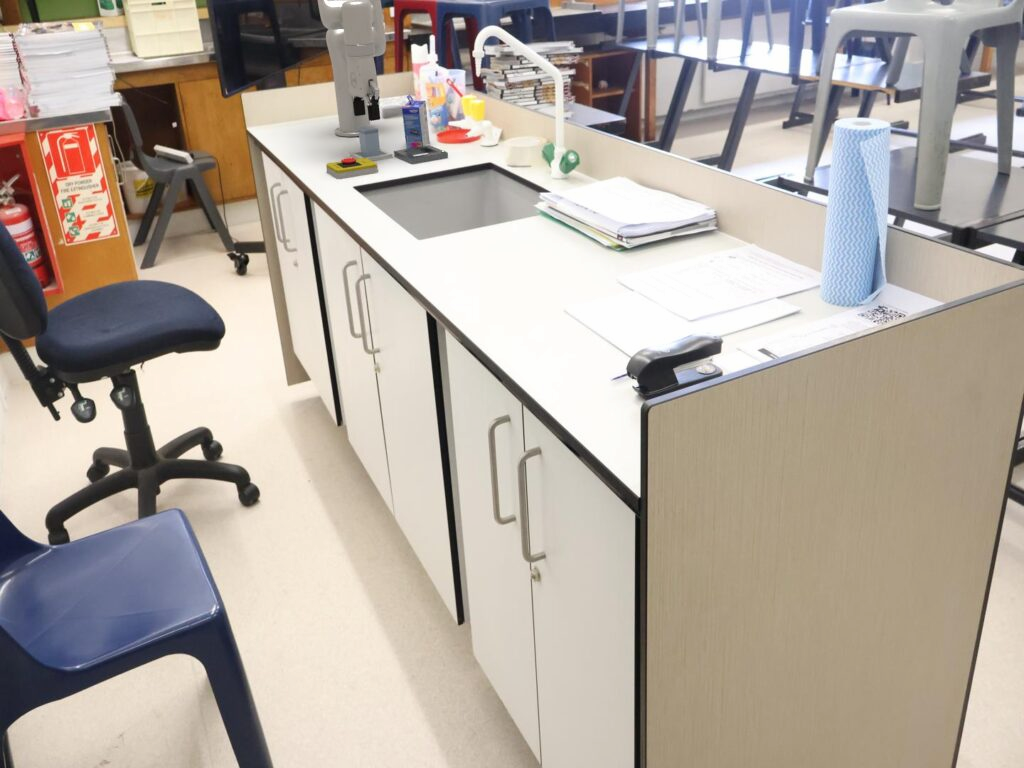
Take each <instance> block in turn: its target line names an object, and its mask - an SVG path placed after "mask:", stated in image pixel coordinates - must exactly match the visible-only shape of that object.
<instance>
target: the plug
mask: <svg viewBox="0 0 1024 768" xmlns="http://www.w3.org/2000/svg"><path fill="white" fill-rule="evenodd" d="M358 130H359V136H358V137H359V145H360V148H359V149H360V151H361V157H363V158H366V157H372V156H378V155H380V149H381V147H380V146H381V145H380V138H379V128H378V127H376V126H374V125H371V126H366V127H360V128H358Z"/></svg>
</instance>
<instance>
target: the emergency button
mask: <svg viewBox="0 0 1024 768" xmlns="http://www.w3.org/2000/svg"><path fill="white" fill-rule="evenodd" d="M326 173H327V174H328V175H330V176H332V177H334V178H335V179H336V180H342V179H348V178H354V177H360V176H361V177H362V176H366V175H371V174H372V175H373V174H378V173H379V168H378V164H377V163H376V161H371V160H369V159H367V158H359V159H354V158H351V157H346V158H343V159H341V161H334V162H329V163H328V162H327V163H326Z"/></svg>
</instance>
